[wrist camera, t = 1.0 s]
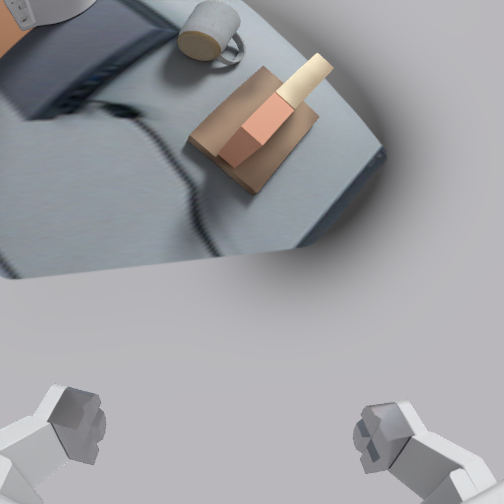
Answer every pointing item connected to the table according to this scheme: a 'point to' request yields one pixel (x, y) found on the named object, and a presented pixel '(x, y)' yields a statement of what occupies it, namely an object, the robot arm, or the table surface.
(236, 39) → the ceramic mug
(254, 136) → the block
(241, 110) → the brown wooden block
